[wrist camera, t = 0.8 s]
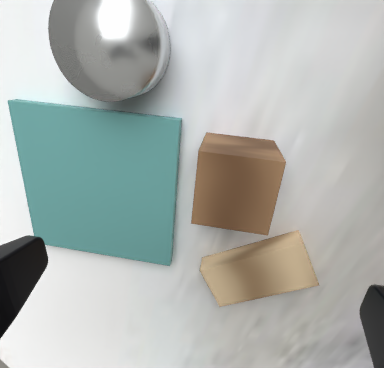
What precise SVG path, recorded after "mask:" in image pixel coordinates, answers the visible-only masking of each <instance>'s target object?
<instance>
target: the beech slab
mask: <svg viewBox="0 0 384 368" xmlns="http://www.w3.org/2000/svg"><path fill="white" fill-rule="evenodd" d="M200 272H201V274H202V276H203V278H204V279H205V281H206V283H207V285H208V287H209V288H210V290H211V292H212V294H213V296H214V297H215V299H216V301H217V303H218V305H219V306H220V307H221V306H226V305H231V304H235V303H240V302H244V301H249V300H254V299H258V298H263V297H267V296H272V295H277V294H281V293H286V292H290V291H295V290H300V289H304V288H309V287H314V286H318V285H319V283H318V280H317V278H316V275H315V272H314V270H313V267H312V264H311V262H310V259H309V256H308V254H307V251H306V248H305V246H304V243H303V240H302V238H301V235H300V233H299V230H297V231H294V232H290V233H287V234H283V235H280V236H276V237H273V238H269V239H266V240H262V241H259V242H255V243H252V244H248V245H245V246H241V247H238V248H234V249H231V250H227V251H224V252H220V253H217V254H213V255H210V256H206V257H203V258H202V261H201V267H200Z"/></svg>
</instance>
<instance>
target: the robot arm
mask: <svg viewBox="0 0 384 368" xmlns="http://www.w3.org/2000/svg"><path fill="white" fill-rule="evenodd" d="M47 264H48V256H47V252H46V247H45V243H44V240H43V239H42V238H41V237H37V236H24V237H22V238H19V239H16V240H14V241H11V242H8V243H6V244H3V245H1V246H0V338H1V337H2V336H3V334H4V333H5V332H6V330H7V329H8V328H9V326H10V325H11V323H12V322H13V321H14V319H15V318H16V316H17V315H18V313H19V312H20V310H21V308H22V307H23V305H24V304H25V302H26V300H27V299H28V297H29V295H30V294H31V292H32V290H33V289H34V287H35V285H36V284H37V282H38V280H39V279H40V277H41V275H42V274H43V272H44V271H45V269H46V267H47ZM360 318H361V322H362V325H363V329H364V333H365V336H366V340H367V343H368V347H369V351H370V354H371V358H372V362H373V365H374V368H384V286H381V285H371V286H370V287H369V288H368V290H367V293H366V295H365V297H364V300H363V302H362V304H361V307H360Z"/></svg>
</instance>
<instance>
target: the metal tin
mask: <svg viewBox="0 0 384 368" xmlns="http://www.w3.org/2000/svg"><path fill="white" fill-rule="evenodd" d="M48 30H49V40H50V46H51V49H52V53H53V56H54V58H55V61H56V63H57V65H58V67H59V69H60V70H61V72H62V73H63V75H64V76H65V77H66V79H67V80H68V81H69V82H70V83H71V84H72V85H73V86H74V87H75V88H76V89H78V90H79V91H80V92H82V93H83V94H85V95H87V96H89V97H91V98H93V99H97V100H100V101H107V102H114V101H120V100H124V99H128V98H131V97H135V96H138V95H141V94H144V93H146V92H148V91H149V90H151V89H152V88H153V87H155V86H156V85H157V84H158V82H159V81H160V80H161V78H162V77H163V75H164V73H165V71H166V69H167V66H168V63H169V58H170V36H169V32H168V28H167V25H166V23H165V20H164V18H163V16H162V14H161V13H160V11H159V10H158V8H157V7H156V6H155V5H154V4H153V3H152V2H151V1H150V0H54V2H53V4H52V7H51V11H50V16H49V27H48Z"/></svg>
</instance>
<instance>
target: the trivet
mask: <svg viewBox="0 0 384 368" xmlns="http://www.w3.org/2000/svg"><path fill="white" fill-rule="evenodd" d="M8 105H9V110H10V115H11V120H12V125H13V130H14V135H15V141H16V146H17V151H18V156H19V161H20V166H21V171H22V176H23V181H24V186H25V191H26V196H27V202H28V207H29V212H30V217H31V222H32V227H33V232H34V236H37V237H41V238H42V239H43V240H44V243H45V245H50V246H56V247H62V248H68V249H74V250H80V251H86V252H91V253H97V254H103V255H109V256H115V257H121V258H126V259H132V260H138V261H144V262H150V263H156V264H162V265H167V266H170V264H171V261H172V251H173V237H174V222H175V208H176V194H177V179H178V165H179V151H180V136H181V122H182V118H173V117H164V116H156V115H147V114H139V113H130V112H121V111H113V110H104V109H96V108H87V107H78V106H70V105H61V104H52V103H44V102H35V101H27V100H18V99H15V100H8Z"/></svg>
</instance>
